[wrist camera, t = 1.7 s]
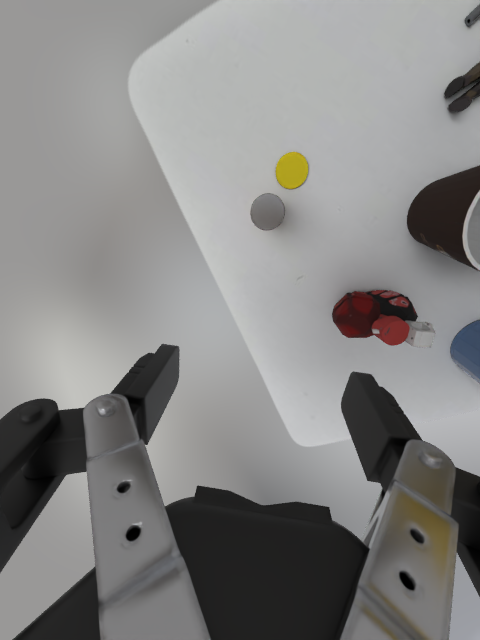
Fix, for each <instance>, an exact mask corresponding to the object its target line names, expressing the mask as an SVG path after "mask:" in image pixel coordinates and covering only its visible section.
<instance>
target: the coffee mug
mask: <svg viewBox="0 0 480 640" xmlns="http://www.w3.org/2000/svg"><path fill="white" fill-rule="evenodd" d="M407 225H408V229H409V232H410V234H411V235H412V237H413V238H414V239H416V240H417V241H418V242H420V243H422V244H425V245H427V246H429V247H431V248H433V249H435V250H437V251H439V252H441V253H443V254H445V255H447V256H449V257H451V258H453V259H455V260H457V261H459V262H462V263H464V264H466V265H468V266H470V267H472V268H474V269H476V270H478V271H480V166H477V167H474V168H471V169H468V170H465V171H462V172H460V173H457V174H454V175H451V176H448V177H445V178H442V179H440V180H437V181H435V182H433V183H431V184H429V185H428V186H426V187H425V188H424V189H423V190H422V191H420V193H419V194H418V195H417V196H416V197H415V199H414V200H413V202H412V204H411V206H410V208H409V211H408V216H407Z"/></svg>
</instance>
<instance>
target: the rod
mask: <svg viewBox="0 0 480 640" xmlns="http://www.w3.org/2000/svg"><path fill="white" fill-rule="evenodd" d="M479 17H480V4H479V5H478V6H477V7H476V8H475V9H474V10H473V11H472V12H471V13H470V14H469V15H468V16H467V17H466V18H465V23H466V25H467V26H470V25H471V24H472V23H473V22H475V21H476V20H477V19H478V18H479Z"/></svg>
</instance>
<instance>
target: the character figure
mask: <svg viewBox="0 0 480 640" xmlns="http://www.w3.org/2000/svg"><path fill="white" fill-rule="evenodd" d="M478 79H480V62H479V63H478V64H476V65H475V66H474V67H473V68H472V69H471V70H470V71H469V72H467V73H466V74H465V75H463V76H460V77H458V78H456V79H454V80H453V81H452V82H451V83H450V84H449V85H448V87H447V89H446V91H445V93H444V95H445V97H446V98H447V97H450V96H452V95H453V94H455V93H456V92H457V91H459V90H461V89H462V88H464V87H466V86H467V85H469V84H471V83H472V82H474V81H476V80H478ZM478 96H480V81H479V82H478V83H476V84H475V85H474V86H473V87H472V88H470V89H469V90H468V91H466V92H465V93H464V94H463V95H461V96H460V97H459V98H457V99H456V100H454V101H453V102H452V103H451V104H449V110H451V111H462V110H464V109H466V108H467V107H468V106H469V105H470V104H471V102H472V99H474V98H476V97H478Z"/></svg>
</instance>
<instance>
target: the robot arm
mask: <svg viewBox="0 0 480 640" xmlns="http://www.w3.org/2000/svg"><path fill="white" fill-rule="evenodd" d="M178 378H179V347H178V346H174V345H167V344H162V345H161V346H160V347H159V349H158V350H157V351H156V353H155V354H154V353H148V354H146V355H144V356H143V357H141V358H140V359H139V360H138V361H137V362H136V363H135V364H134V367H132V368H131V369H130V370H129V373H127V374H126V375H125V377H124V378H123V379H122V380H121V381H120V383H119V384H118V385H117V386H116V387H115V389H114V390H113V391H112V392H111V393H110V394H106V395H102V396H99V397H97V398H95V399H93V400H92V401H90V402H89V403H88V404H87V405H86V406H85V408H79V409H68V410H58V406H57V403H56V402H55V401H53V400H51V399H35V400H31V401H28V402H25V403H23V404H21V405H19V406H17V407H15V408H14V409H12V410H11V411H10V412H9V413H7V414H6V415H5V416H4V417H3V418H2V419H1V420H0V572H1V571H2V569H3V568H4V566H5V565H6V563H7V562H8V561H9V559H10V557H11V556H12V555H13V553H14V552H15V550H16V549H17V547H18V546H19V544H20V543H21V541H22V539H23V538H24V537H25V535H26V534H27V532H28V531H29V529H30V528H31V526H32V525H33V523H34V522H35V520H36V519H37V517H38V516H39V515H40V513H41V512H42V510H43V509H44V507H45V506H46V504H47V503H48V501H49V500H50V498H51V497H52V495H53V493H54V492H55V491H56V489H57V488H58V486H59V485H60V483H61V482H62V480H63V479H64V477H65V476H66V475H67V474H73V473H80V472H87V478H88V490H89V499H90V500H89V501H90V512H91V522H92V534H93V544H94V555H95V567H94V568H93V569H92V570H91V571H90V572H88V573H87V574H86V575H85V576H84V577H83V578H82V579H80V581H78V582H77V583H76V584H75V585H74V586H73V587H71V588H70V589H69V590H68V591H67V592H66V593H65V594H64V595H62V596H61V597H60V598H59V599H58V600H57V601H56V602H55V603H54V604H52V605H51V606H50V607H49V608H48V609H47V610H45V611H44V612H43V613H42V614H41V615H40V616H39V617H38V618H36V619H35V620H34V621H33V622H32V623H31V624H30V625H29V626H27V627H26V628H25V629H24V630H23V631H22V632H21V633H20V634H18V635H17V636H16V637H15V638H14V639H13V640H449V631H450V620H451V608H452V597H453V586H454V574H455V563H456V552H457V553H458V555H459V557H460V559H461V561H462V563H463V565H464V567H465V569H466V571H467V573H468V575H469V577H470V579H471V581H472V583H473V585H474V587H475V588H476V591H477V592H478V595H479V596H480V477H479V476H477V475H474V474H471V473H469V472H466V471H463V470H461V469H459V468H456V467H455V466H454V464H453V462H452V461H451V459H450V458H449V457H448V456H447V455H446V454H445V453H444V452H443V451H441V450H440V449H439V448H437V447H436V446H434V445H432V444H430V443H428V442H425V441H423V440H422V439H421V437H420V436H419V434H418V433H417V431H416V430H415V428H414V427H413V425H412V424H411V422H410V421H409V419H408V418H407V417H406V415H405V414H404V412H403V411H402V409H401V408H400V407H399V405H398V403H397V402H396V400H395V399H394V397H393V396H392V395H391V394H390V393H389V392H388V391H387V390H385V389H384V388H383V387H379V385H378V384H377V382H376V381H375V379H374V377H373V376H372V375H371V374H366V373H359V372H352V373H351V375H350V377H349V380H348V383H347V386H346V388H345V391H344V394H343V397H342V401H341V409H342V413H343V416H344V419H345V421H346V424H347V427H348V429H349V432H350V435H351V437H352V440H353V443H354V445H355V448H356V451H357V453H358V456H359V459H360V462H361V464H362V467H363V470H364V472H365V475H366V477H367V481H371V482H378V483H381V486H382V491H381V492H380V494H379V496H378V499H377V501H376V504H375V506H374V509H373V511H372V514H371V516H370V519H369V521H368V524H367V526H366V529H365V531H364V533H363V536H362V538H361V540H360V539H359V538H358V537H357V536H355V535H354V534H353V533H352V532H351V531H349V530H348V529H346V528H345V527H344V526H342V525H340V524H338V523H337V522H335V521H332V518H331V514H330V509H329V507H325V506H319V505H313V504H307V503H301V502H290V503H282V504H274V505H259V504H257V503H255V502H253V501H251V500H248V499H246V498H244V497H242V496H240V495H237V494H235V493H233V492H231V491H228V490H222V489H215V488H209V487H203V486H197V489H196V493H195V497H189V498H185V499H181V500H178V501H176V502H173V503H171V504H169V505H167V506H164V503H163V500H162V497H161V494H160V490H159V487H158V484H157V481H156V478H155V475H154V472H153V469H152V466H151V462H150V460H149V456H148V453H147V450H146V447H145V445H147V444H148V442H149V440H150V438H151V436H152V434H153V432H154V430H155V428H156V426H157V424H158V422H159V420H160V418H161V416H162V414H163V412H164V410H165V408H166V406H167V404H168V402H169V400H170V398H171V396H172V394H173V392H174V390H175V388H176V385H177V382H178Z"/></svg>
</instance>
